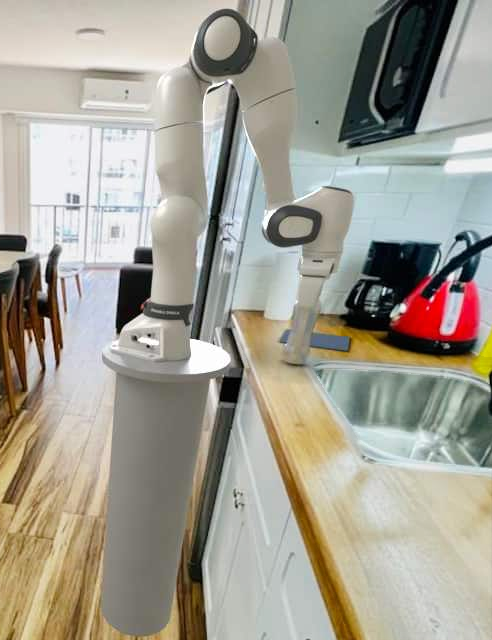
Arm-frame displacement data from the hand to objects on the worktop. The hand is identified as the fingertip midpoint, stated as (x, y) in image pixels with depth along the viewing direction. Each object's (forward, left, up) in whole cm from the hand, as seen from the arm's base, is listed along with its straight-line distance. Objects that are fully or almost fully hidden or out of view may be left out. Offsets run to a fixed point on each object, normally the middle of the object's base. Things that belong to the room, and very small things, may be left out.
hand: (304, 321), depth 122 cm
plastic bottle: (0, 0, -11) cm, 11 cm away
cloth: (+3, +27, -11) cm, 29 cm away
